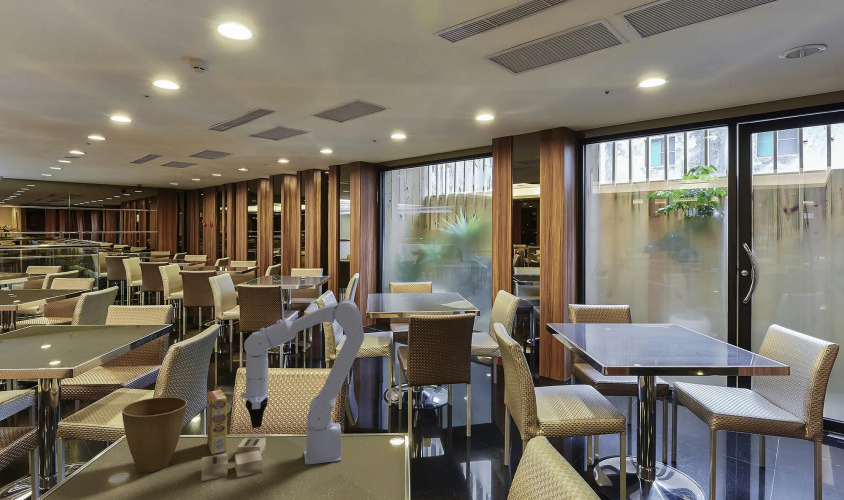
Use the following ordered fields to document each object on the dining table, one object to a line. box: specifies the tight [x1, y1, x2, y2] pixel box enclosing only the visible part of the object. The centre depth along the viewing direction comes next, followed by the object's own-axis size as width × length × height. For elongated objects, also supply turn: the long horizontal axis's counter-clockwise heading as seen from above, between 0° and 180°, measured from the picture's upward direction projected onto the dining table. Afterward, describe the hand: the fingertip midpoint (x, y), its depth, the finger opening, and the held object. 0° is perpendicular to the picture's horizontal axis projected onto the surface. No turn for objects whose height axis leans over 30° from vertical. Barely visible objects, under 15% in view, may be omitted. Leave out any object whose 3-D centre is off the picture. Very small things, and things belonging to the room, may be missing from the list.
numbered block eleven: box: [236, 437, 267, 457], centre depth 131 cm, size 6×6×4 cm
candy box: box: [206, 389, 228, 455], centre depth 135 cm, size 9×4×15 cm, turn 33°
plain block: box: [234, 451, 263, 478], centre depth 122 cm, size 6×6×4 cm
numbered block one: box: [200, 453, 229, 482], centre depth 120 cm, size 6×6×4 cm
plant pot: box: [121, 396, 188, 473], centre depth 123 cm, size 15×15×16 cm
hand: (256, 426), depth 127 cm, fingers closed
